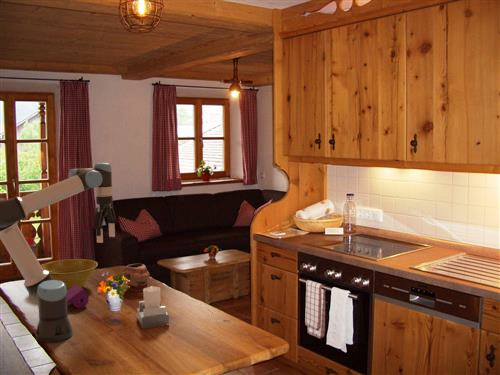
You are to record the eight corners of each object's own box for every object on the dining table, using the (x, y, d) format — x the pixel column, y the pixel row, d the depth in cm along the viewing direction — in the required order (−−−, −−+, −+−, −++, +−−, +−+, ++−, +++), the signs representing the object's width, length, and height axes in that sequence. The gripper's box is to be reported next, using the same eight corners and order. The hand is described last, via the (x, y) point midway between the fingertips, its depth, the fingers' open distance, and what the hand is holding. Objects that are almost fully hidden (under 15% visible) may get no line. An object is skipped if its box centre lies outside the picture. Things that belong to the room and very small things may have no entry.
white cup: (162, 307, 253) (161, 286, 251) (159, 312, 245) (159, 291, 244) (145, 307, 252) (144, 286, 251) (142, 313, 245) (141, 291, 243)
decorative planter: (115, 288, 302) (114, 264, 300) (132, 283, 311) (131, 260, 310) (140, 294, 290) (139, 269, 288) (156, 289, 300) (155, 264, 298)
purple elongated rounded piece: (60, 324, 264) (91, 301, 273) (52, 311, 261) (83, 288, 270) (53, 319, 271) (83, 297, 281) (45, 306, 268) (75, 284, 277)
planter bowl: (105, 280, 318) (104, 258, 317) (88, 297, 286) (87, 273, 285) (52, 280, 319) (51, 258, 318) (28, 297, 287) (27, 273, 286)
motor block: (168, 325, 245) (168, 307, 244) (142, 328, 241) (141, 310, 240) (162, 315, 258) (162, 298, 257) (137, 318, 254) (136, 301, 253)
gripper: (107, 192, 267) (109, 234, 270) (84, 198, 243) (86, 244, 245) (122, 192, 266) (123, 234, 269) (100, 199, 242) (102, 245, 244)
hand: (106, 239), depth 257 cm, fingers open, 13 cm apart
